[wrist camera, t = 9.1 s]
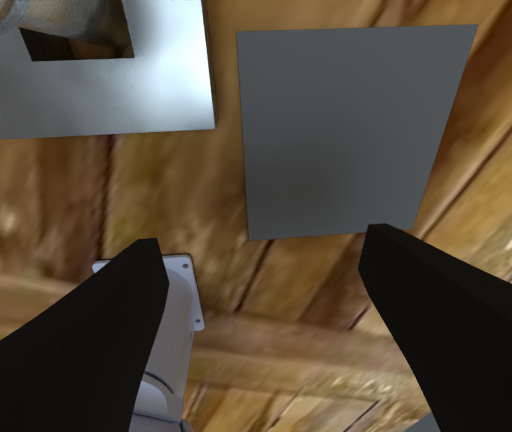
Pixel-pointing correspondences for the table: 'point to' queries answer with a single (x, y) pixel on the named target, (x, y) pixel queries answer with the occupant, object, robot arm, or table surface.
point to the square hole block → (112, 78)
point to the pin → (69, 19)
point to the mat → (344, 124)
